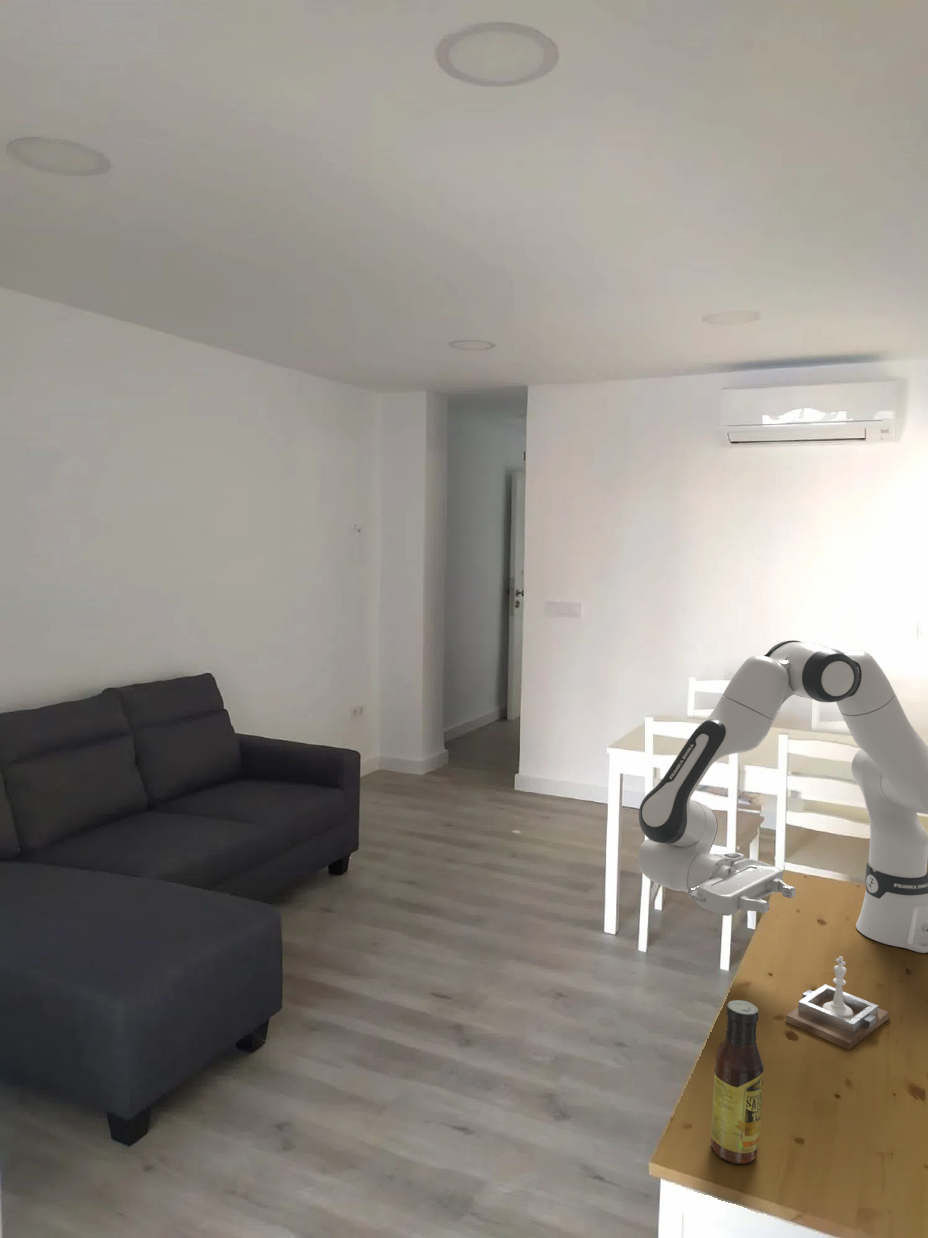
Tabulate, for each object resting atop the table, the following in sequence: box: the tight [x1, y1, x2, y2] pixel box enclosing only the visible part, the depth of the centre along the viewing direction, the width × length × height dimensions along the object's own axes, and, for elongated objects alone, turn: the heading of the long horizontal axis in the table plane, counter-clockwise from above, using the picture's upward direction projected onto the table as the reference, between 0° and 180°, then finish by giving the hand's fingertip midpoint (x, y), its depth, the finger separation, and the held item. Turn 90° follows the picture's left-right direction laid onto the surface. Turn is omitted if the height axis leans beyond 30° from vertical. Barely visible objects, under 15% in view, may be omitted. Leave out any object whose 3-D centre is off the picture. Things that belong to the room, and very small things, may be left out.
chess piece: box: [823, 955, 853, 1020], centre depth 153 cm, size 5×5×10 cm
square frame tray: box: [797, 983, 879, 1035], centre depth 153 cm, size 12×10×2 cm
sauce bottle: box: [710, 999, 765, 1165], centre depth 119 cm, size 6×6×20 cm
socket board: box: [785, 998, 890, 1050], centre depth 153 cm, size 11×15×1 cm
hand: (780, 900), depth 161 cm, fingers open, 8 cm apart
